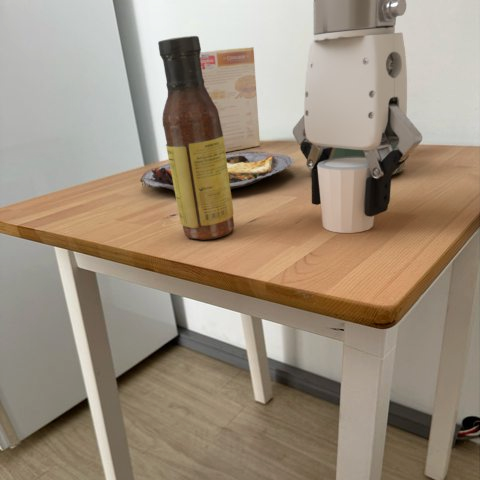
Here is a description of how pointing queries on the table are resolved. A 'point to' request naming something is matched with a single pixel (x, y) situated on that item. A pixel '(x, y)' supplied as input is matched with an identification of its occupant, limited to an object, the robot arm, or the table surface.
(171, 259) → the table surface
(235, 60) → the coffeecake box
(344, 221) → the white faceted cup
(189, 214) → the sauce bottle
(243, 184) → the food plate
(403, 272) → the table surface
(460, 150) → the table surface
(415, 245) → the table surface
